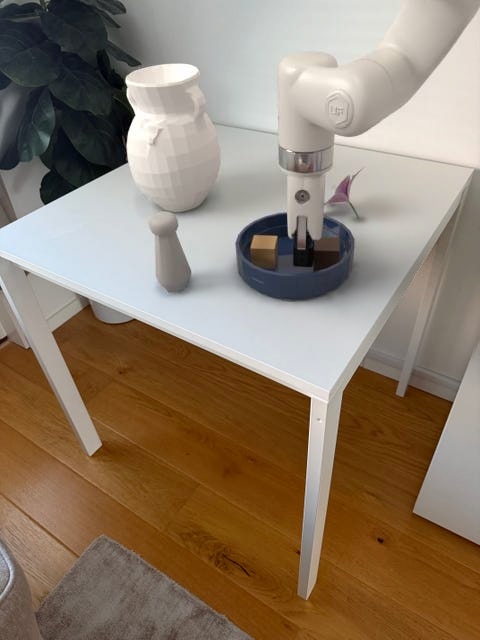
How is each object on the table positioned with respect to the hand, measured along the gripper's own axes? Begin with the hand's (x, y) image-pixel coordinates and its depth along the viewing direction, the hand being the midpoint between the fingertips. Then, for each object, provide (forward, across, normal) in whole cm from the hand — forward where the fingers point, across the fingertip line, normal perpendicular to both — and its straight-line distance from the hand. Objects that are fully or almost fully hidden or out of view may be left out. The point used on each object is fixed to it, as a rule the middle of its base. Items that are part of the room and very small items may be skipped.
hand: (303, 263), depth 78 cm
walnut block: (+1, +2, -4) cm, 4 cm away
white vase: (+2, +24, +28) cm, 37 cm away
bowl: (+2, +2, +2) cm, 3 cm away
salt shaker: (+2, -5, +21) cm, 21 cm away
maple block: (+2, +2, +7) cm, 7 cm away
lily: (+2, +20, -5) cm, 21 cm away
